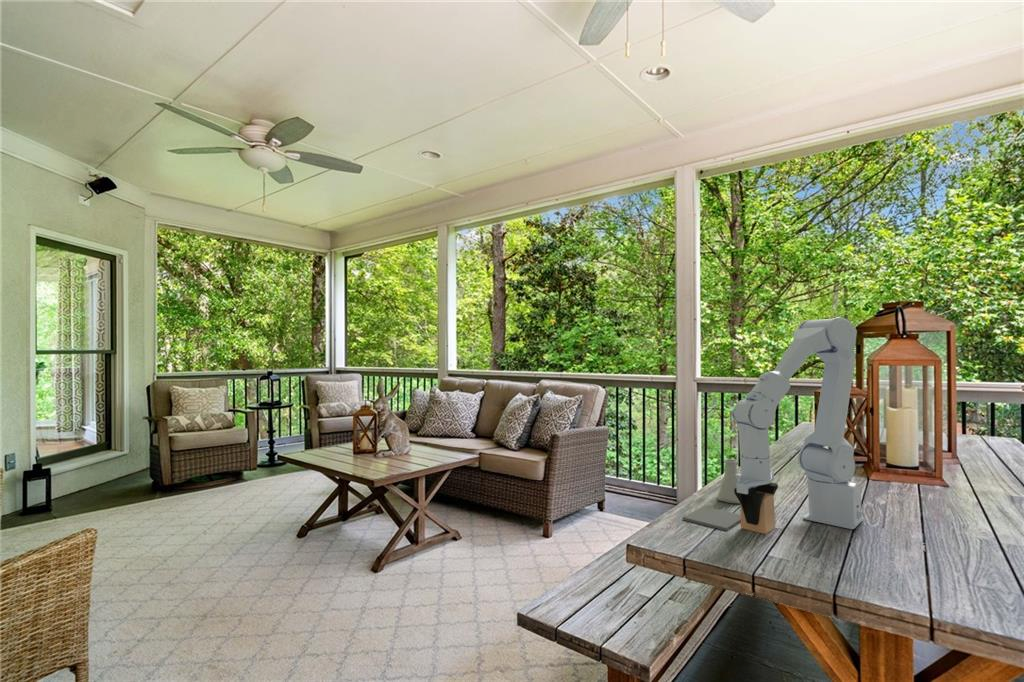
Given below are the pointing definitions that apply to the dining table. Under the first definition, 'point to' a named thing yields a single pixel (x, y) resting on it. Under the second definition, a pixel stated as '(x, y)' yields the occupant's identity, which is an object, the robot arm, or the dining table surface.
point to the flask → (729, 482)
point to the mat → (714, 518)
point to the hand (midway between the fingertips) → (757, 520)
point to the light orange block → (762, 516)
